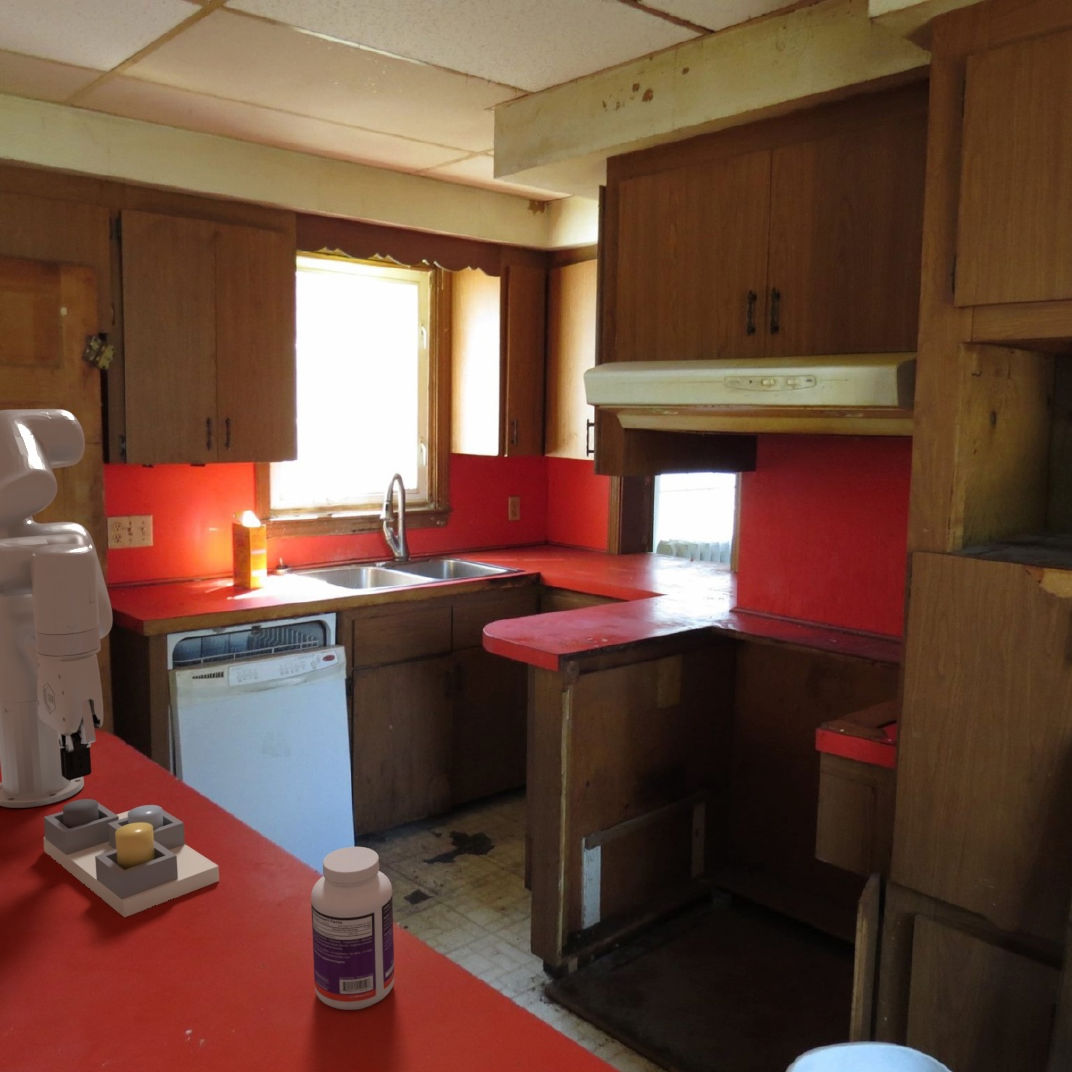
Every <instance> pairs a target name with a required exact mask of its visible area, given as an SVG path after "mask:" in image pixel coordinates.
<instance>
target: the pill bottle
mask: <svg viewBox="0 0 1072 1072" xmlns="http://www.w3.org/2000/svg"><path fill="white" fill-rule="evenodd" d="M322 873H323V875H322V876H321V877H320V878H319V879H318V880H317V881H316V882H315V883H314V885H313V887H312V890H311V895H310V903H311V925H312V927H311V929H312V950H313V954H312V956H313V977H314V978H313V979H314V980H313V981H314V982H313V983H314V991H315V993H316V995H317V998H318V999H319V1000H320V1001H321V1002H322V1003H324V1004H325V1005H327V1006H329V1007H332V1008H334V1009H338V1010H346V1011H349V1010H350V1011H351V1010H352V1011H354V1010H362V1009H365V1008H367V1007H368V1008H369V1007H371V1006H373V1005H374V1004H376V1003H378V1002H380V1001H382V1000H383V999H384V998H385V997H386V996H388V994H389V993H390V992H391V990H392V988H393V986H394V983H395V954H394V953H395V950H394V949H395V943H394V941H395V940H394V918H393V917H394V913H393V909H394V908H393V907H394V906H393V904H394V903H393V886H392V883H391V881H390V878H388V876H387V875H386V874H385V873H383V872H382V871H380V857H379V854H378V853H377V852H376V851H375V850H374V849H372V848H369V847H363V846H348V847H341V848H339V849H335V850H333V851H331V852H329V853H327V855H325V857H324V858H323V861H322Z"/></svg>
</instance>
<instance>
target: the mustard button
mask: <svg viewBox="0 0 1072 1072" xmlns="http://www.w3.org/2000/svg"><path fill="white" fill-rule="evenodd" d="M115 835H116V851H117V865H118V866H120V867H121V868H122V869H129V868H132V867H135V866H138V865H140V864H143V863H146V862H149V861H152V860H155V854H154V837H153V826H152V825H151V824H149V823H143V822H139V823H131V824H127V825H124V826H122V827H120V828H119V829H117V830H116V832H115Z"/></svg>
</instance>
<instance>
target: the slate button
mask: <svg viewBox="0 0 1072 1072" xmlns="http://www.w3.org/2000/svg"><path fill="white" fill-rule="evenodd" d="M162 810H163V807H161V806H159V805H156V804H147V805H146V804H145V805H140V806H137V807H134V808H132V809H130V810H128V811H129V812H128V824H131V823H139V822H143V823H149V824H151V825H152V826H153V829H156V828H159V827H162V826H163V812H162Z"/></svg>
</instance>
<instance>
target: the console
mask: <svg viewBox="0 0 1072 1072" xmlns="http://www.w3.org/2000/svg"><path fill="white" fill-rule="evenodd" d="M129 811H130V810H128V811H124V812H121V813H118V814H116V813H115V812H113V811H111V810H110V809H108V808H107V807H106V806H104V805H103V804H101V803H100V802H98V814H99V820H96V821H92V822H89V823H86V824H83V825H79V826H76V827H73V828H70V829H69V828H68V827H66V826H65V825H64V819H63V810H62V811H58V812H56V813H53V814H52V813H51V814H49V815H46V816H43V822H44V823H43V827H44V837H43V836H42V837H43V839H42V840H43V849H44V850H43V851H45V852H44V853H46V854H47V855H48V856H49V855H50V856H51V857H50V856H49V857H50V858H52V859H53V860H54V861H55V860H56V861H55V862H56V863H58V864H59V865H60V864H61V865H62V866H61V865H60V866H61V867H63V868H64V869H65V871H66V870H67V871H68V872H69V873H70V874H71V873H72V874H71V875H73V876H74V877H75V878H76V879H77V880H78V881H79V882H81V883H82V884H83V885H84V884H85V886H86V887H87V888H88V889H89V888H90V889H89V890H90V891H92V892H93V891H94V892H93V893H94V894H95V895H97V897H99V898H100V897H101V898H102V899H101V898H100V899H101V900H102V901H104V902H105V903H106V904H108V905H109V906H110V907H111V908H112V909H114V910H115V911H116V912H117V913H119V914H120V915H121V916H122V917H123V918H126V917H129V916H132V915H135V914H138V913H140V912H143V911H144V910H145V911H146V910H148V909H150V908H152V906H153V907H155V906H154V905H156V906H158V905H161V904H163V903H165V902H168V900H169V901H170V899H171V900H173V898H174V899H176V898H178V897H181V896H183V895H187V894H189V893H191V892H194V891H197V890H199V889H202V888H205V887H207V886H210V885H212V884H214V883H217V882H219V881H220V872H219V871H220V868H219V864H217V863H215V862H214V861H212V860H210V859H209V858H207V857H205V856H204V855H203V854H201V853H199V852H198V851H197V850H195V849H193V848H191V847H190V846H189V845H187V844H186V842H185V840H186V839H185V824H184V822H183V821H182V820H180V819H178V818H176V816H173V815H172V814H171V813H168V811H166V810H164V809H162V812H163V826H162V827H159V828H156V829H153V837H154V854H155V860H152V861H149V862H146V863H143V864H140V865H138V866H135V867H132V868H129V869H122V868H121V867H120V866H118V865H117V851H116V835H115V832H116V830H117V829H119V828H120V827H122V826H124V825H127V824H128V812H129ZM147 908H148V909H147Z"/></svg>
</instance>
